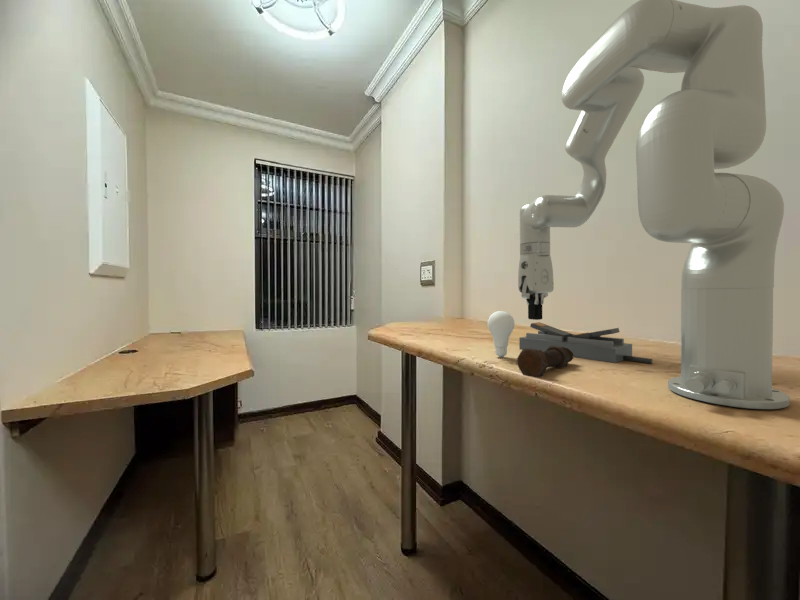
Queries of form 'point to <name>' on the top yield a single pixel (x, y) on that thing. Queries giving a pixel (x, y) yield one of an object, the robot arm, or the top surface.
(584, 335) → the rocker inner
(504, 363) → the top surface
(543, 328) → the rocker outer
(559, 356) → the bolt
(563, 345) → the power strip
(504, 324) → the lightbulb
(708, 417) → the top surface
